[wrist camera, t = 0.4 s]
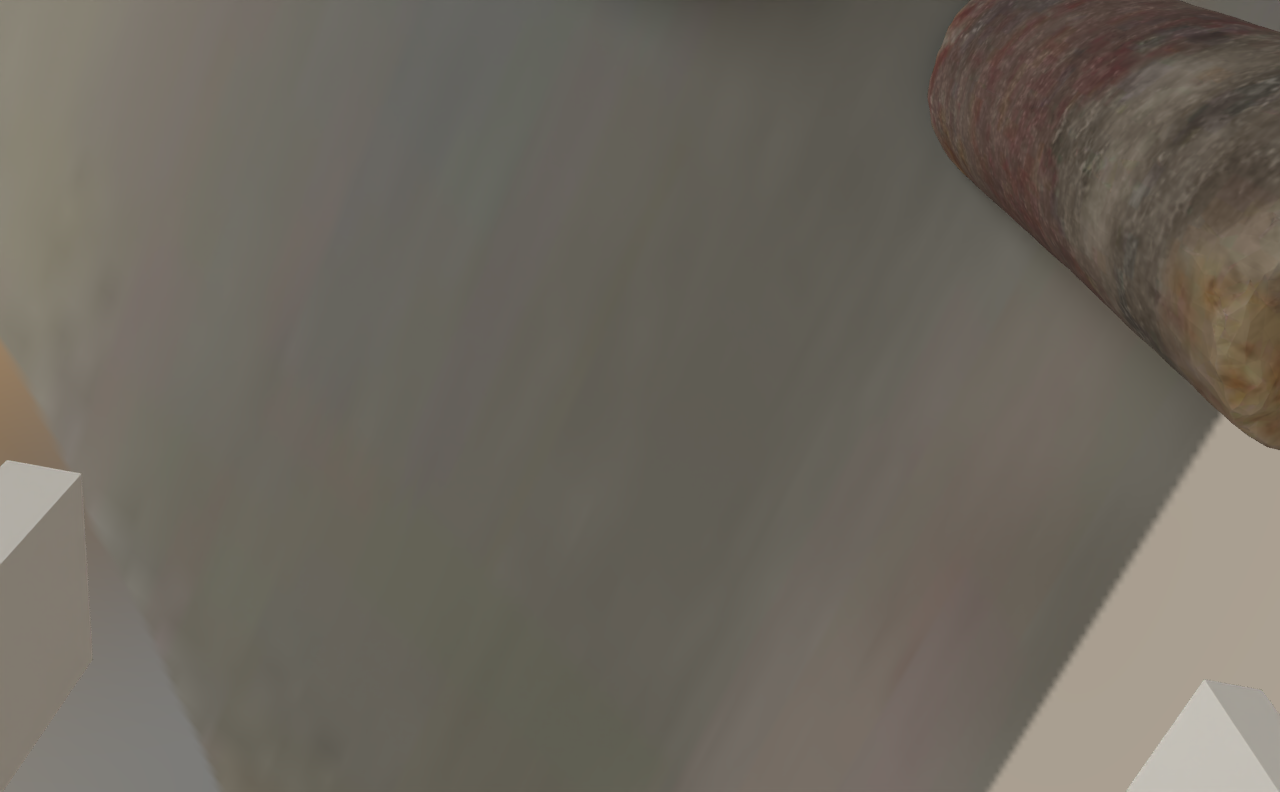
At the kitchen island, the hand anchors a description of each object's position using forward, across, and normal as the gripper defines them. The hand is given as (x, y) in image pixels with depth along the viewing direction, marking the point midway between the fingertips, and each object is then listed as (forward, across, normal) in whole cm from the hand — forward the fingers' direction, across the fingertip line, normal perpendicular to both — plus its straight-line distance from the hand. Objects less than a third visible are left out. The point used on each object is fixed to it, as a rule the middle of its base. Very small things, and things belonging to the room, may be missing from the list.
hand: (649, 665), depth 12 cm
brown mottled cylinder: (+27, +13, +4) cm, 30 cm away
